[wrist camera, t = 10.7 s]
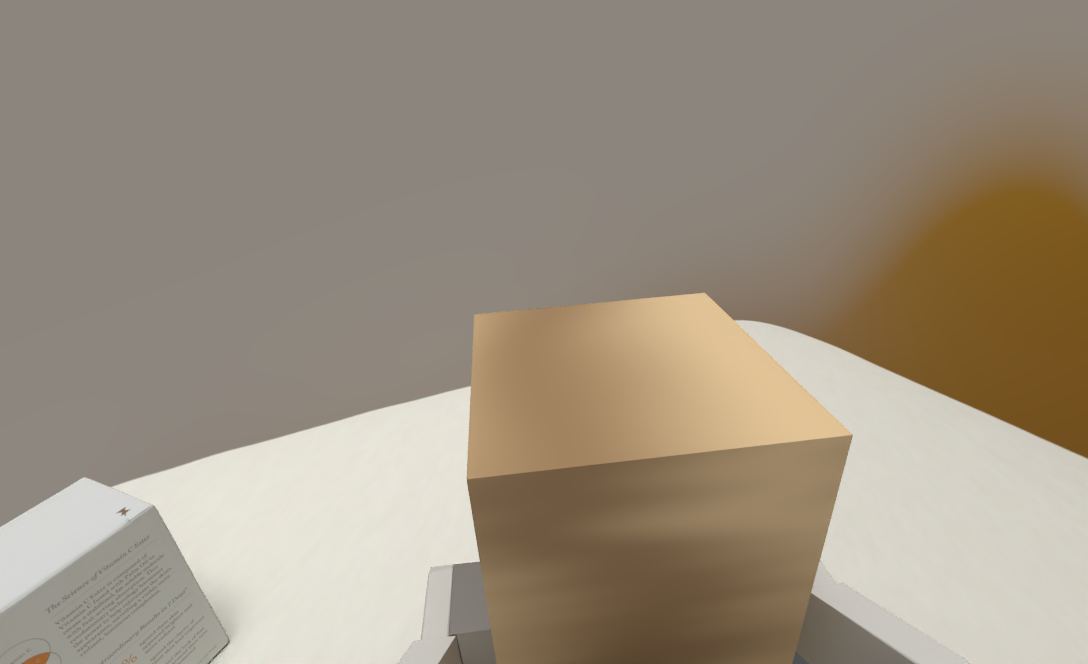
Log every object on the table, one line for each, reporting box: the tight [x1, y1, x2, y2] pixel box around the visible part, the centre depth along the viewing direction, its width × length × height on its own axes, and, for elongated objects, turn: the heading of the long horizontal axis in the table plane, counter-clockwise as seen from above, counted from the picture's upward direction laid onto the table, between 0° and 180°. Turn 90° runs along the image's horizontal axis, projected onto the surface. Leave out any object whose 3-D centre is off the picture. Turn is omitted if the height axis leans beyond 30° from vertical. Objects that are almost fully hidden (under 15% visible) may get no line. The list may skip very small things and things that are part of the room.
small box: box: [0, 477, 229, 664], centre depth 24 cm, size 8×6×10 cm
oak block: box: [467, 293, 853, 664], centre depth 11 cm, size 5×5×12 cm
